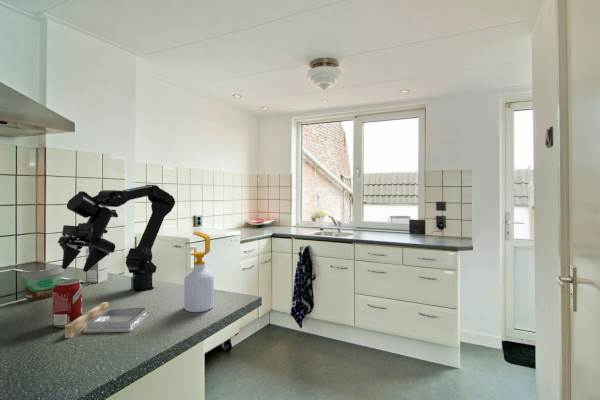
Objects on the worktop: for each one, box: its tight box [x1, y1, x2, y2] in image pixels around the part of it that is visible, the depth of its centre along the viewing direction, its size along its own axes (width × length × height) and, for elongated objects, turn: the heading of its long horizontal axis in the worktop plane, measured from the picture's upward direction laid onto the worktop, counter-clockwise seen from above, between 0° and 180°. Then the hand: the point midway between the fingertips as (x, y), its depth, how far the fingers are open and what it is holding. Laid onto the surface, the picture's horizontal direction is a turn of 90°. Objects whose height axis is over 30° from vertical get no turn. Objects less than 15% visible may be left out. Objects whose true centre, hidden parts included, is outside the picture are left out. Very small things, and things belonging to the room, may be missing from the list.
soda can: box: [51, 278, 83, 328], centre depth 90 cm, size 7×7×12 cm
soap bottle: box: [183, 231, 215, 313], centre depth 104 cm, size 9×9×25 cm
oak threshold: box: [64, 301, 109, 339], centre depth 91 cm, size 18×2×3 cm, turn 4°
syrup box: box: [85, 247, 108, 284], centre depth 134 cm, size 6×6×14 cm
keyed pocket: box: [83, 307, 150, 334], centre depth 92 cm, size 12×12×2 cm
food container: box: [20, 264, 65, 301], centre depth 113 cm, size 12×6×10 cm, turn 148°
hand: (73, 270), depth 99 cm, fingers open, 9 cm apart
